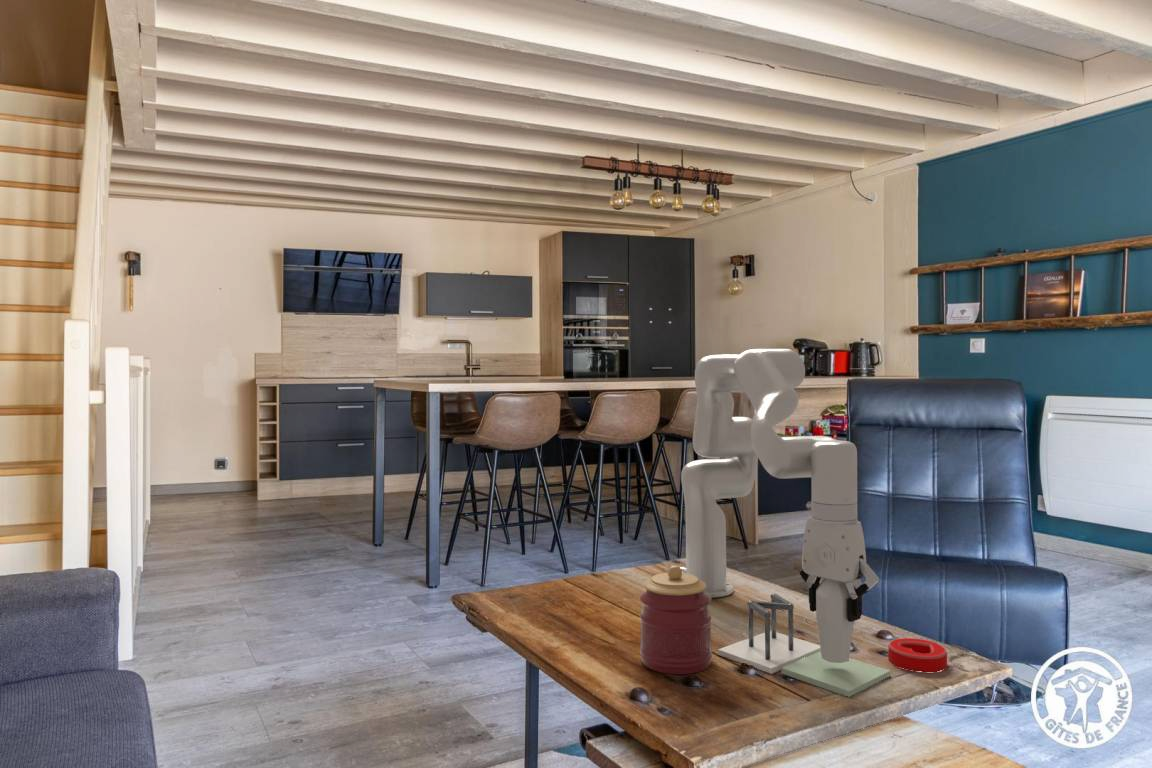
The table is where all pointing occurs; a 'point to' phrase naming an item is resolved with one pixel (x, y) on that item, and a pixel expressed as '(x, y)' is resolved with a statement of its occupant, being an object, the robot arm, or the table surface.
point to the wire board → (777, 652)
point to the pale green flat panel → (836, 674)
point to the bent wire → (761, 608)
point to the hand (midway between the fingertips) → (834, 613)
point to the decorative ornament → (917, 655)
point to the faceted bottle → (833, 621)
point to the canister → (675, 623)
